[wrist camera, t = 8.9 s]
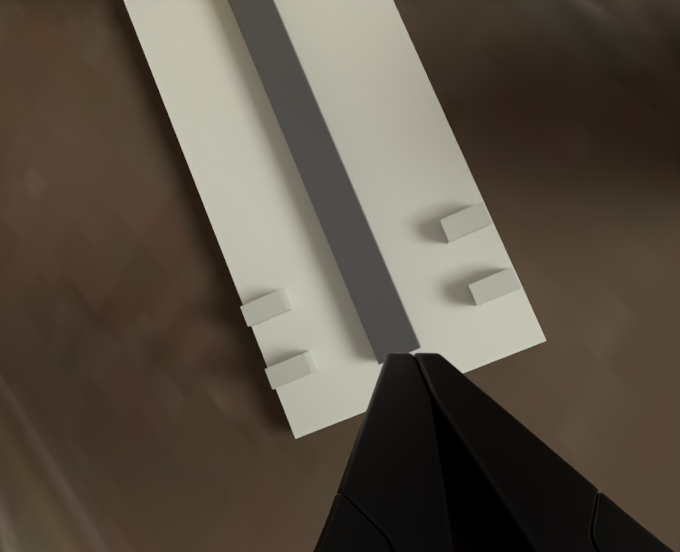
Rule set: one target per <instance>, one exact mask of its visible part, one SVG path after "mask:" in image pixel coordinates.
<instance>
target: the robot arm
mask: <svg viewBox="0 0 680 552" xmlns="http://www.w3.org/2000/svg"><path fill="white" fill-rule="evenodd" d="M313 552H674V551H673V550H671V549H670V548H669V547H667V546H666V545H665V544H663V543H662V542H661V541H660V540H659V539H657V538H656V537H655V536H654V535H652V534H651V533H650V532H649V531H648V530H646V529H645V528H644V527H643V526H641V525H640V524H639V523H638V522H637V521H635V520H634V519H633V518H632V517H631V516H629V515H628V514H627V513H626V512H624V511H623V510H622V509H621V508H620V507H619V506H617V505H616V504H615V503H614V502H613V501H612V500H610V499H609V498H608V497H607V496H606V495H605V494H603V493H599V494H598V489H597V488H596V487H595V486H594V485H593V484H591V483H590V482H589V481H588V480H587V479H586V478H584V477H583V476H582V475H581V474H580V473H579V472H577V471H576V470H575V469H574V468H573V467H572V466H570V465H569V464H568V463H567V462H566V461H565V460H563V459H562V458H561V457H560V456H559V455H558V454H556V453H555V452H554V451H553V450H552V449H551V448H549V447H548V446H547V445H546V444H545V443H543V442H542V441H541V440H540V439H539V438H538V437H536V436H535V435H534V434H533V433H532V432H531V431H529V430H528V429H527V428H526V427H525V426H524V425H522V424H521V423H520V422H519V421H518V420H517V419H515V418H514V417H513V416H512V415H511V414H510V413H508V412H507V411H506V410H505V409H504V408H503V407H501V406H500V405H499V404H498V403H497V402H496V401H494V400H493V399H492V398H491V397H490V396H489V395H487V394H486V393H485V392H484V391H483V390H482V389H480V388H479V387H478V386H477V385H476V384H475V383H473V382H472V381H471V380H470V379H469V378H467V377H466V376H465V375H464V374H463V373H462V372H460V371H459V370H458V369H457V368H456V367H455V366H453V365H452V364H451V363H450V362H449V361H448V360H446V359H445V358H444V357H443V356H442V355H440V354H438V353H415V354H414V355H412V354H411V353H401V352H390V353H388V354H387V355H386V357H385V360H384V363H383V365H382V368H381V371H380V374H379V377H378V379H377V382H376V385H375V388H374V391H373V393H372V396H371V399H370V402H369V405H368V407H367V410H366V413H365V416H364V418H363V421H362V424H361V427H360V430H359V432H358V435H357V438H356V441H355V444H354V446H353V449H352V452H351V455H350V458H349V460H348V463H347V466H346V469H345V472H344V474H343V477H342V480H341V483H340V486H339V488H338V491H337V495H336V496H335V498H334V501H333V504H332V507H331V510H330V512H329V515H328V518H327V520H326V523H325V525H324V528H323V530H322V532H321V535H320V537H319V540H318V542H317V545H316V547H315V549H314V551H313Z"/></svg>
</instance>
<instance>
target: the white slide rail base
mask: <svg viewBox="0 0 680 552" xmlns="http://www.w3.org/2000/svg"><path fill="white" fill-rule="evenodd" d="M124 3H125V5H126V8H127V10H128V13H129V15H130V18H131V21H132V23H133V26H134V28H135V31H136V33H137V36H138V38H139V41H140V43H141V46H142V49H143V51H144V54H145V56H146V59H147V61H148V64H149V66H150V69H151V72H152V74H153V77H154V79H155V82H156V84H157V87H158V89H159V92H160V95H161V97H162V100H163V102H164V105H165V107H166V110H167V112H168V115H169V117H170V120H171V123H172V125H173V128H174V130H175V133H176V135H177V138H178V140H179V143H180V146H181V148H182V151H183V153H184V156H185V158H186V161H187V163H188V166H189V169H190V171H191V174H192V176H193V179H194V181H195V184H196V186H197V189H198V192H199V194H200V197H201V199H202V202H203V204H204V207H205V209H206V212H207V214H208V217H209V220H210V222H211V225H212V227H213V230H214V232H215V235H216V237H217V240H218V243H219V245H220V248H221V250H222V253H223V255H224V258H225V260H226V263H227V266H228V268H229V271H230V273H231V276H232V278H233V281H234V283H235V286H236V289H237V291H238V294H239V296H240V299H241V301H242V304H243V306H241V307H240V308H241V310H242V313H243V316H244V318H245V321H246V323H247V326H248V327H249V326H251V327H252V329H253V332H254V334H255V337H256V340H257V342H258V345H259V347H260V350H261V352H262V355H263V357H264V360H265V363H266V365H267V369H265V372H266V374H267V377H268V379H269V382H270V385H271V387H272V390H273V389H275V388H276V391H277V393H278V396H279V398H280V401H281V403H282V406H283V408H284V411H285V414H286V416H287V419H288V421H289V424H290V426H291V429H292V431H293V434H294V437H295V439H297V438H299V437H302V436H304V435H307V434H309V433H312V432H314V431H317V430H320V429H322V428H325V427H327V426H330V425H332V424H335V423H337V422H340V421H343V420H345V419H348V418H350V417H353V416H355V415H358V414H360V413H363V412H366V410H367V407H368V405H369V402H370V399H371V396H372V393H373V391H374V388H375V385H376V382H377V379H378V377H379V374H380V371H381V368H382V365H383V363H384V360H385V357H386V355H387V354H388V353H390V352H401V353H411V354H412V355H414V354H415V353H438V354H440V355H442V356H443V357H444V358H445V359H446V360H448V361H449V362H450V363H451V364H452V365H453V366H455V367H456V368H457V369H458V370H459V371H460V372H462V373H465V372H468V371H470V370H473V369H475V368H478V367H481V366H483V365H486V364H488V363H491V362H493V361H496V360H498V359H501V358H504V357H506V356H509V355H511V354H514V353H516V352H519V351H521V350H524V349H527V348H529V347H532V346H534V345H537V344H539V343H542V342H544V341H546V339H545V336H544V334H543V332H542V330H541V327H540V325H539V323H538V321H537V319H536V316H535V314H534V312H533V310H532V308H531V305H530V303H529V301H528V299H527V296H526V294H525V292H524V290H523V288H522V285H521V283H520V281H519V279H518V276H517V274H516V272H515V270H514V268H513V265H512V263H511V261H510V259H509V256H508V254H507V252H506V250H505V248H504V245H503V243H502V241H501V239H500V236H499V234H498V232H497V230H496V228H495V225H494V223H493V221H492V219H491V216H490V214H489V212H488V210H487V208H486V205H485V203H484V201H483V199H482V197H481V194H480V192H479V190H478V188H477V185H476V183H475V181H474V179H473V177H472V174H471V172H470V170H469V168H468V165H467V163H466V161H465V159H464V157H463V154H462V152H461V150H460V148H459V145H458V143H457V141H456V139H455V137H454V134H453V132H452V130H451V128H450V125H449V123H448V121H447V119H446V117H445V114H444V112H443V110H442V108H441V105H440V103H439V101H438V99H437V97H436V94H435V92H434V90H433V88H432V85H431V83H430V81H429V79H428V77H427V74H426V72H425V70H424V68H423V66H422V63H421V61H420V59H419V57H418V54H417V52H416V50H415V48H414V46H413V43H412V41H411V39H410V37H409V34H408V32H407V30H406V28H405V26H404V23H403V21H402V19H401V17H400V14H399V12H398V10H397V8H396V6H395V3H394V1H393V0H124Z"/></svg>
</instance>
